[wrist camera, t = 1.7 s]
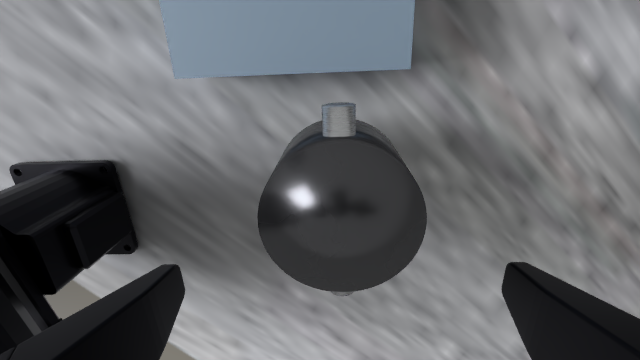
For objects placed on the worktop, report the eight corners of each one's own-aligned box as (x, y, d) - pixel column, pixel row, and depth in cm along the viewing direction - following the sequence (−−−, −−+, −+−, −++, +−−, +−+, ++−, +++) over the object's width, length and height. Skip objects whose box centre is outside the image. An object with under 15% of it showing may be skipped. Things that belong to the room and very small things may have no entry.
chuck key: (387, 216, 20) (417, 312, 13) (293, 217, 20) (269, 311, 13) (393, 85, 17) (437, 108, 10) (283, 89, 17) (243, 114, 10)
